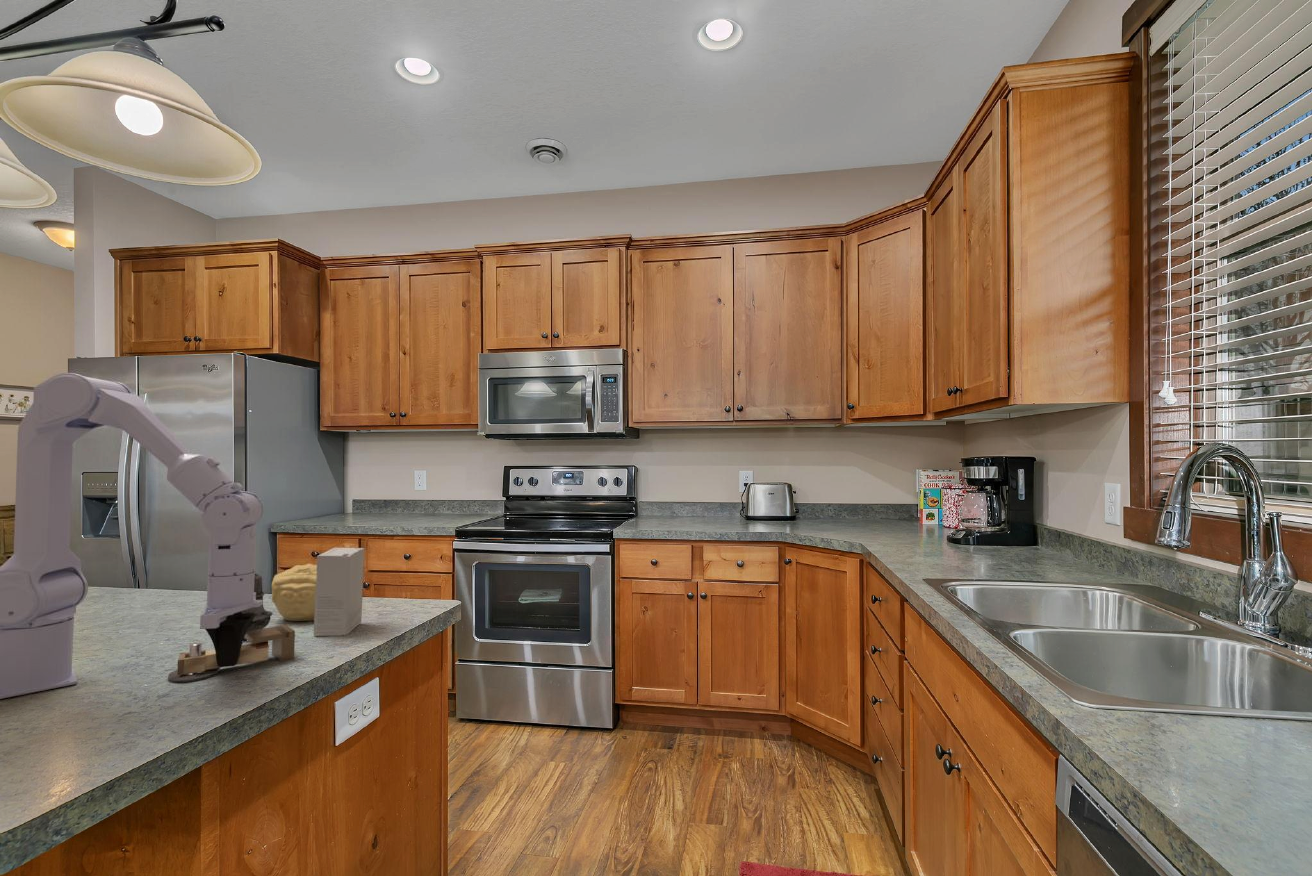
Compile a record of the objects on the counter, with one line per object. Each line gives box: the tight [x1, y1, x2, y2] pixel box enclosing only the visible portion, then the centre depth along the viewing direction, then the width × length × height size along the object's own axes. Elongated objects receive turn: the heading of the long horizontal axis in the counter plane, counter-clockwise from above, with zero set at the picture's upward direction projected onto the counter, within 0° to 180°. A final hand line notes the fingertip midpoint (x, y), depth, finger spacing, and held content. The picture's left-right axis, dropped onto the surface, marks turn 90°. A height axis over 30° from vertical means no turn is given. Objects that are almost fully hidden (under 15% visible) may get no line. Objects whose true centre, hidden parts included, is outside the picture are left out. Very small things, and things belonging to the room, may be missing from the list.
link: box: [176, 641, 270, 675], centre depth 89 cm, size 11×4×2 cm, turn 126°
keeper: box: [244, 624, 296, 662], centre depth 94 cm, size 6×5×4 cm
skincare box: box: [313, 547, 365, 637], centre depth 110 cm, size 8×6×15 cm
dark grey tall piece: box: [242, 573, 273, 642], centre depth 105 cm, size 6×6×12 cm
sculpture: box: [271, 563, 317, 622], centre depth 118 cm, size 12×12×11 cm
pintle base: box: [167, 642, 221, 684], centre depth 87 cm, size 6×6×4 cm
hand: (228, 665), depth 87 cm, fingers closed, pressing on link
